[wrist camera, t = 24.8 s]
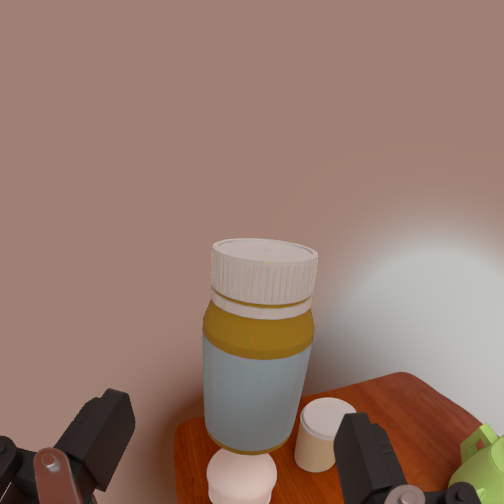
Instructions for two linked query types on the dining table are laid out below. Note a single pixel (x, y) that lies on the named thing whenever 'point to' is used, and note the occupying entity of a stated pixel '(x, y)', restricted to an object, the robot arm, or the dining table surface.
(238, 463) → the water bottle
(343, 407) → the coffee cup
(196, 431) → the dining table surface
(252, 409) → the bottle
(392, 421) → the dining table surface
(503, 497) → the teapot
